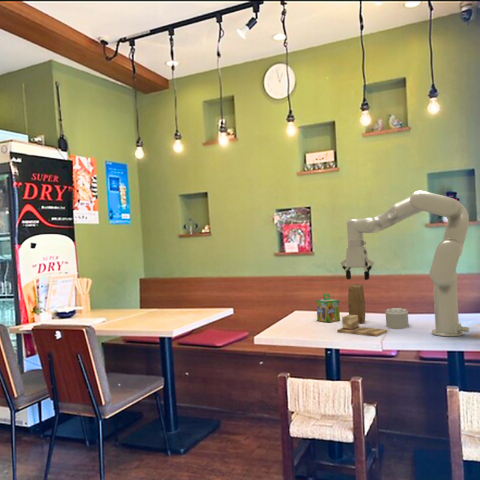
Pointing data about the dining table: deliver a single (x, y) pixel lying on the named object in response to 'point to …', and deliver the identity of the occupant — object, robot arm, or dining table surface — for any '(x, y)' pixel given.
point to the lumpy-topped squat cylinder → (397, 318)
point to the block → (356, 302)
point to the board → (364, 331)
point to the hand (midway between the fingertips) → (357, 279)
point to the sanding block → (350, 322)
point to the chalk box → (328, 309)
